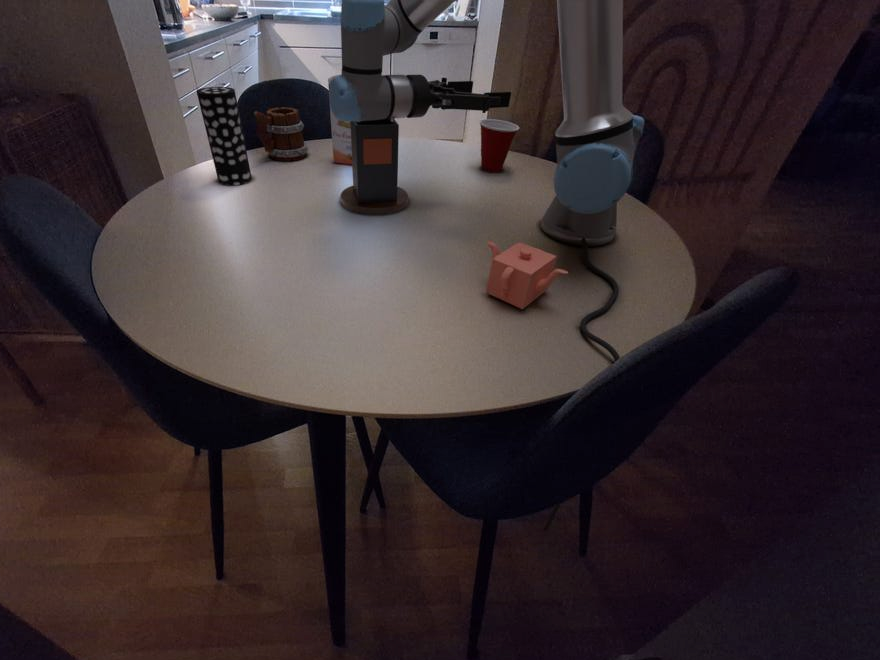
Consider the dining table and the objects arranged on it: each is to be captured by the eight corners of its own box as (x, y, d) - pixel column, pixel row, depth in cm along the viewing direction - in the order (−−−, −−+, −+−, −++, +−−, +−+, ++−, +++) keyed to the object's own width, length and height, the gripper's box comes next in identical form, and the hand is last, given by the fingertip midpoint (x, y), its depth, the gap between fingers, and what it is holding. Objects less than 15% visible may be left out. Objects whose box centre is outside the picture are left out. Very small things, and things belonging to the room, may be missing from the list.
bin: (389, 185, 108) (390, 113, 97) (397, 201, 100) (399, 125, 90) (353, 187, 106) (350, 114, 96) (358, 203, 99) (355, 126, 88)
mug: (319, 153, 130) (307, 98, 118) (283, 174, 123) (267, 117, 112) (293, 145, 135) (279, 92, 124) (257, 164, 128) (239, 109, 117)
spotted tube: (253, 183, 111) (236, 93, 98) (219, 186, 109) (197, 94, 95) (249, 172, 117) (232, 86, 103) (217, 175, 114) (195, 87, 101)
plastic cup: (514, 176, 120) (523, 128, 112) (475, 175, 120) (482, 127, 112) (507, 163, 128) (516, 118, 120) (471, 162, 128) (477, 117, 120)
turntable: (410, 215, 99) (410, 208, 98) (339, 215, 98) (339, 208, 97) (405, 189, 111) (405, 182, 110) (342, 188, 110) (342, 182, 109)
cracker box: (332, 163, 124) (326, 77, 110) (341, 157, 129) (335, 73, 115) (379, 169, 121) (378, 82, 108) (385, 163, 126) (386, 78, 112)
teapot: (537, 327, 68) (551, 281, 63) (460, 290, 76) (467, 246, 70) (571, 297, 75) (586, 253, 69) (498, 266, 82) (506, 224, 77)
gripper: (378, 105, 98) (455, 101, 107) (435, 132, 82) (522, 125, 90) (378, 65, 94) (460, 65, 102) (440, 86, 77) (531, 83, 85)
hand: (489, 93), depth 96 cm, fingers open, 13 cm apart
